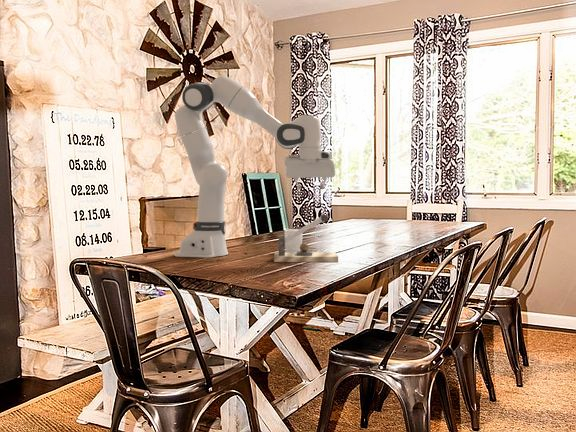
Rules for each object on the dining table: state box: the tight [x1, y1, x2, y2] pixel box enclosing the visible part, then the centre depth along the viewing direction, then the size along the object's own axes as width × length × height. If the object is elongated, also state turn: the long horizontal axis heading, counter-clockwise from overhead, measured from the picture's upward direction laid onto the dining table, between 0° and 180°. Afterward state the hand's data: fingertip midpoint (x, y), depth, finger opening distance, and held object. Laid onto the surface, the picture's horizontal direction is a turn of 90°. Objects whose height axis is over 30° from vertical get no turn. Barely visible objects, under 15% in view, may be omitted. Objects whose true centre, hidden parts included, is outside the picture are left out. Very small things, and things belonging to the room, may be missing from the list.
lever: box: [285, 213, 329, 243], centre depth 220 cm, size 22×6×3 cm, turn 91°
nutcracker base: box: [273, 235, 339, 263], centre depth 221 cm, size 25×12×9 cm, turn 90°
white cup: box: [283, 228, 303, 252], centre depth 240 cm, size 8×8×10 cm
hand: (310, 188), depth 227 cm, fingers open, 8 cm apart
